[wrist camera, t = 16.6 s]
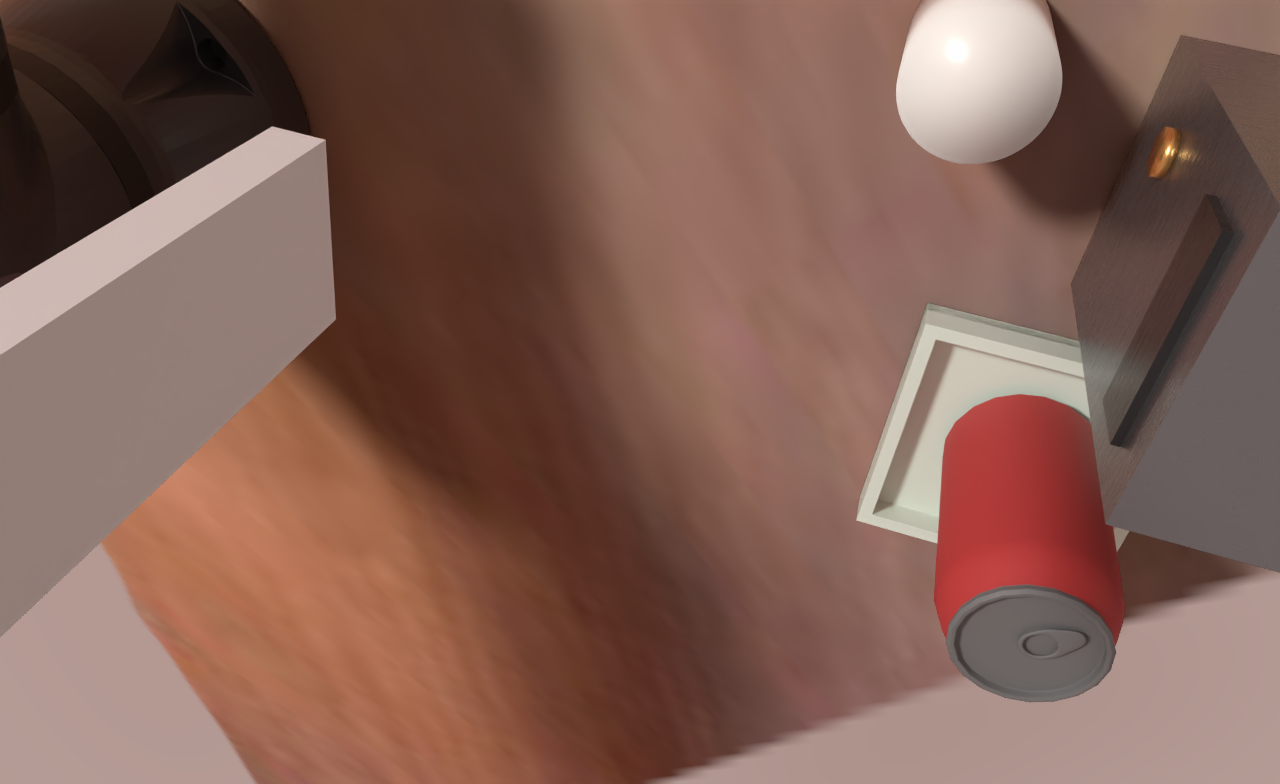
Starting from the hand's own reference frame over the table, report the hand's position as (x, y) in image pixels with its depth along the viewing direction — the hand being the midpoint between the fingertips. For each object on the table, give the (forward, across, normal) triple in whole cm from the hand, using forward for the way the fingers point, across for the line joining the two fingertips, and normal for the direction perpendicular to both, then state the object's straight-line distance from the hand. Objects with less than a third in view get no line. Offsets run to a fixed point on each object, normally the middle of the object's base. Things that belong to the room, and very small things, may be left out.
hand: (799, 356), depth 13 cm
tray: (+29, +10, -20) cm, 36 cm away
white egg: (+29, +3, -3) cm, 29 cm away
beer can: (+28, +10, -20) cm, 36 cm away
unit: (+29, +14, -6) cm, 33 cm away
